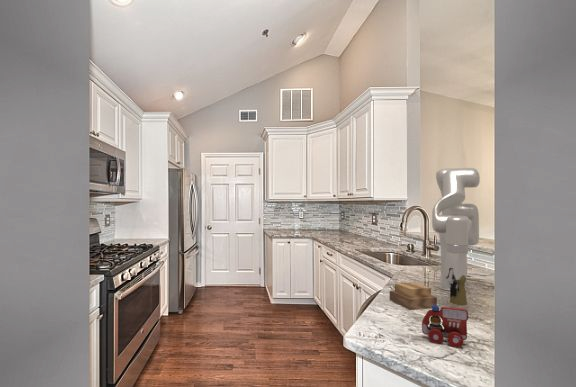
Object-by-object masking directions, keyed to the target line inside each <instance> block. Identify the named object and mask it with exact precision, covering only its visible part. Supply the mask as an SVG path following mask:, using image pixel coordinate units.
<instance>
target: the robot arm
mask: <svg viewBox="0 0 576 387" xmlns="http://www.w3.org/2000/svg"><path fill="white" fill-rule="evenodd" d="M435 173H436V174H435V179H436V183H437V186H438V188H439V190H440V193H441V198H440V199H439V200H437V202H436V203H435V204H434V205H433V208H432V211H431V212H432V214H431V218H432V219H431V224H432V229H433V231H434V232H435V233H436V234H437V233H438V236H439V245H440V283H438V284H437V286H436V287H437V288H438V289H440V290H442V291H443V290H444V291H446V292H450V293H449V298H450V297H452V296H454V297H455V296H456V294H457V289H458V292H459V283H458V280H460V279H461V277H462V276H463V275H464V276H465V277H466V278H467V276H468V257H467V255H468V254H469V246H476V245H478V244H479V241H480V219H479V218H480V217H479V216H480V215H479V214H480V213H479V209H478V206H477V205H476V204H474V203H463V202H464V201H465V200H466V190H465V188H466V189H467V188H477V187H479V184H480V182H481V181H480V178H481V177H480V173H479V171H478V169H477V168H474V167H454V168H442V169H439V170H437V171H436V172H435ZM440 213H441V214H440ZM453 278H455V279H456V280H455V279H453ZM454 281H456V283H455V282H454ZM470 283H471V282H470V280H466V282H465V283H464V284H465V285H466V286H467V285H470ZM465 291H467V287H465Z"/></svg>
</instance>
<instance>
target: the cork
mask: <svg viewBox="0 0 576 387" xmlns="http://www.w3.org/2000/svg"><path fill="white" fill-rule="evenodd" d="M453 279H455V278H453ZM455 280H456V279H455ZM466 281H467V276H466V277H465V276H464V275H463V276H462V277H461V279H460V280H458V283H459V292H458V289H457V294H456V296H455V297H454V296H452V297H450V296H449V303H450V304H452V305H455V306H462V307H463V306H468V300H467V292H466V291H467V290H466V291H465V288H466V286H465V284H464V283H465V282H466ZM454 282H455V283H456V281H454Z"/></svg>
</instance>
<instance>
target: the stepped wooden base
mask: <svg viewBox="0 0 576 387" xmlns="http://www.w3.org/2000/svg"><path fill="white" fill-rule="evenodd" d="M389 301H390V302H392V303H395V304H396V305H399V306H400V307H402V308H405V309H407V310H409V311H412V310H423V309H432V306H433V305H437V306H438V297H436V296H434V295H432V288H431V287H430V286H426V285H424V284H421V283H418V282H416V281H411V282H408V281H407V282H394V290H389Z"/></svg>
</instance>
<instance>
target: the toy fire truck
mask: <svg viewBox="0 0 576 387" xmlns="http://www.w3.org/2000/svg"><path fill="white" fill-rule="evenodd" d="M468 320H469V312H468V310H467V309H465V308H456V307H448V306H442V307H439V306H438V304H437V305H433V306H432V308H431V309H427V311H426V313H425V315H424V317H423V319H422V321H421V332H422V334H424V335H427V336H428V338H429V340H430V342H432V343H433V344H435V345H436V344H439V345H440V344H441V343H443V341H444V338H447V341H448V344H449V345H450V346H451V347H453V348H461V347H462V346H463V345H464V341H466V340H467V339H468V331H467V330H468V328H467V326H468V325H467V322H468Z"/></svg>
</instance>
